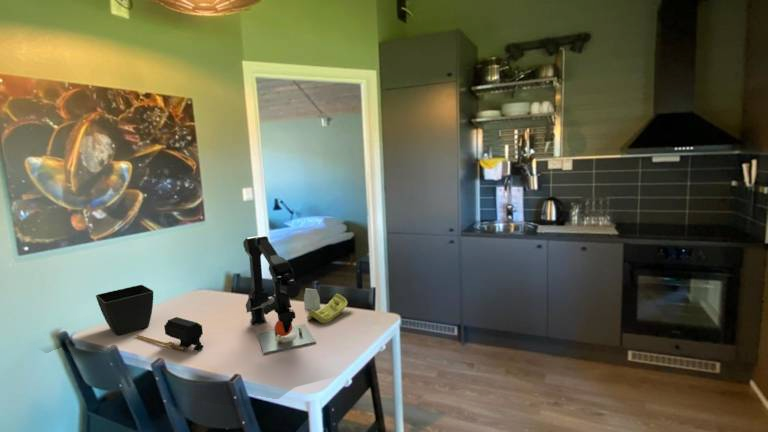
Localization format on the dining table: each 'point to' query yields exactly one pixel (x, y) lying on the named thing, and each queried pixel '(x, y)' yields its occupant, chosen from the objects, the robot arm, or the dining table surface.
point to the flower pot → (127, 308)
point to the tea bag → (311, 299)
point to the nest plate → (285, 340)
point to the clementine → (281, 329)
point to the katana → (162, 343)
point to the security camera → (185, 332)
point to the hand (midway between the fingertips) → (285, 329)
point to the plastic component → (329, 309)
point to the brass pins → (281, 338)
